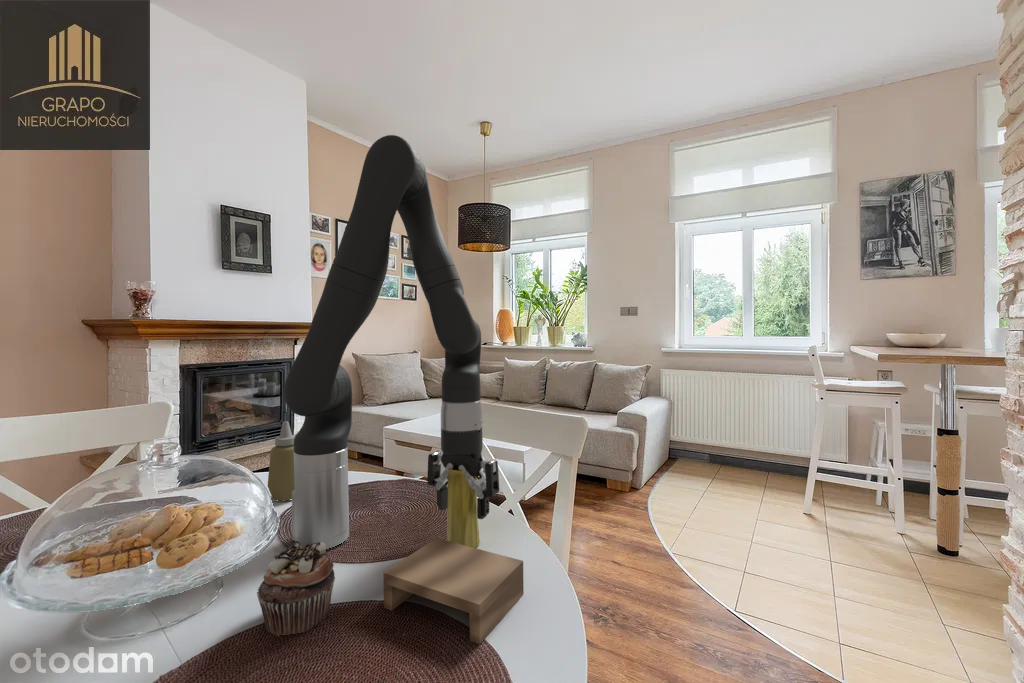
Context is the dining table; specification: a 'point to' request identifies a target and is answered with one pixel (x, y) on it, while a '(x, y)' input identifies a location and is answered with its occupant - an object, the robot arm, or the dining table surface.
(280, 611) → the cupcake
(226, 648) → the dining table surface
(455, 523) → the vase
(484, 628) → the walnut shelf
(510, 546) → the dining table surface
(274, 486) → the squeeze bottle
